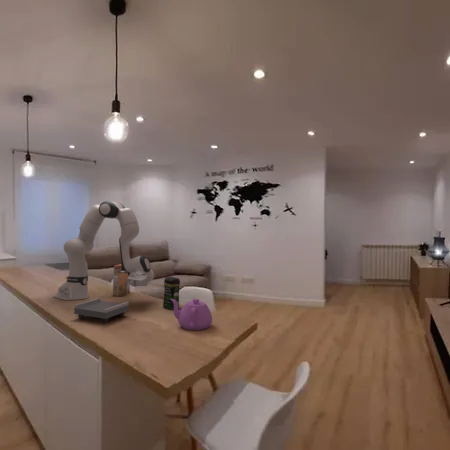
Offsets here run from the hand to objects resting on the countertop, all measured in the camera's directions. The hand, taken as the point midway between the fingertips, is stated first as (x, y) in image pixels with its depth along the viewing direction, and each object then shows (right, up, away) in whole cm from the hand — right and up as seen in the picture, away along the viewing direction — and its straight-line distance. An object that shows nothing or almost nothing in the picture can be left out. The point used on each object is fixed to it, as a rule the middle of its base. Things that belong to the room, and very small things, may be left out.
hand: (121, 282), depth 192 cm
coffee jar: (+27, -17, +10) cm, 34 cm away
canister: (0, -8, +1) cm, 8 cm away
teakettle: (+42, -18, -24) cm, 52 cm away
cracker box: (-13, -16, +42) cm, 46 cm away
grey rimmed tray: (-6, -16, -15) cm, 23 cm away
